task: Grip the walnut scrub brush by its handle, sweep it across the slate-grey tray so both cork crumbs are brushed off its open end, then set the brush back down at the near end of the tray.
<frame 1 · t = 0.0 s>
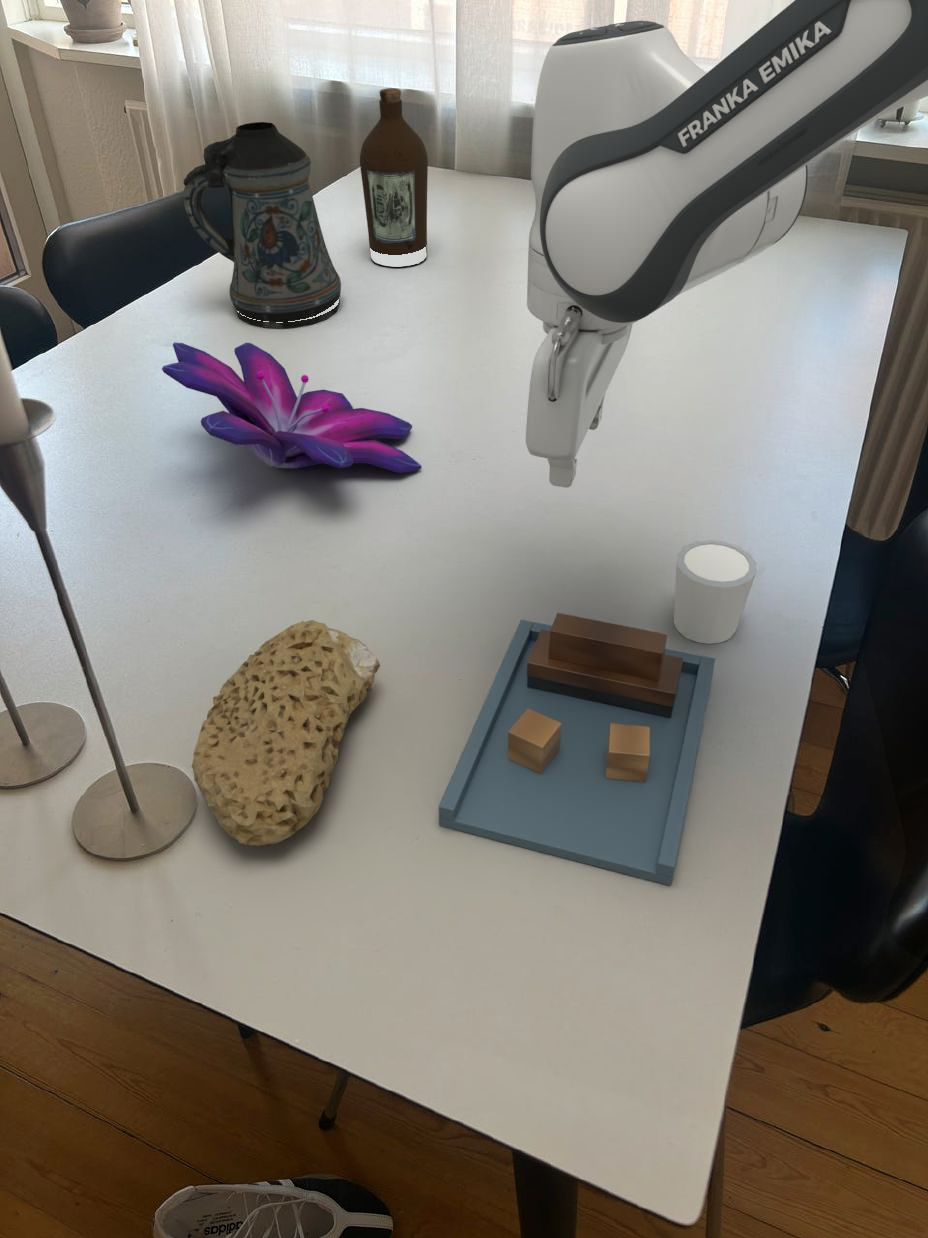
hand: (576, 452, 78), 17 cm above the table, tool pointing down, fingers open, 8 cm apart
olive oil: (398, 259, 161), on the table
beer stein: (280, 311, 145), on the table
crumb a: (627, 752, 73), point 2 cm above the table, touching tray
tray: (585, 745, 77), on the table
brush: (602, 686, 80), point 1 cm above the table, touching tray
crumb b: (534, 741, 74), point 2 cm above the table, touching tray
sponge: (290, 756, 76), on the table
white cup: (704, 625, 88), on the table
decorative flower: (303, 458, 112), on the table
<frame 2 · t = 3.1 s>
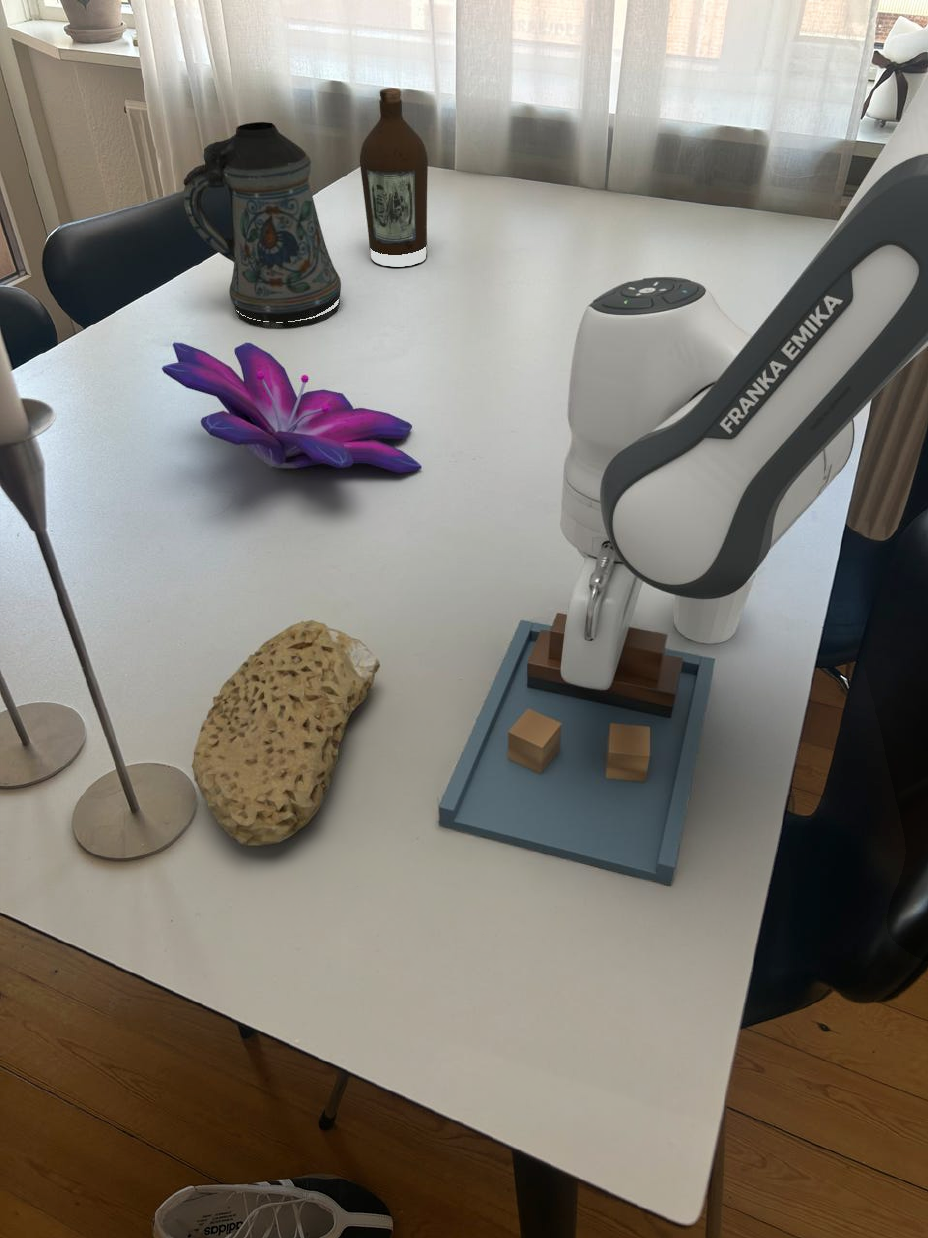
hand: (606, 651, 78), 5 cm above the table, tool pointing down, fingers closed on brush, 2 cm apart
brush: (602, 686, 80), point 1 cm above the table, touching gripper, tray
everything else where it was.
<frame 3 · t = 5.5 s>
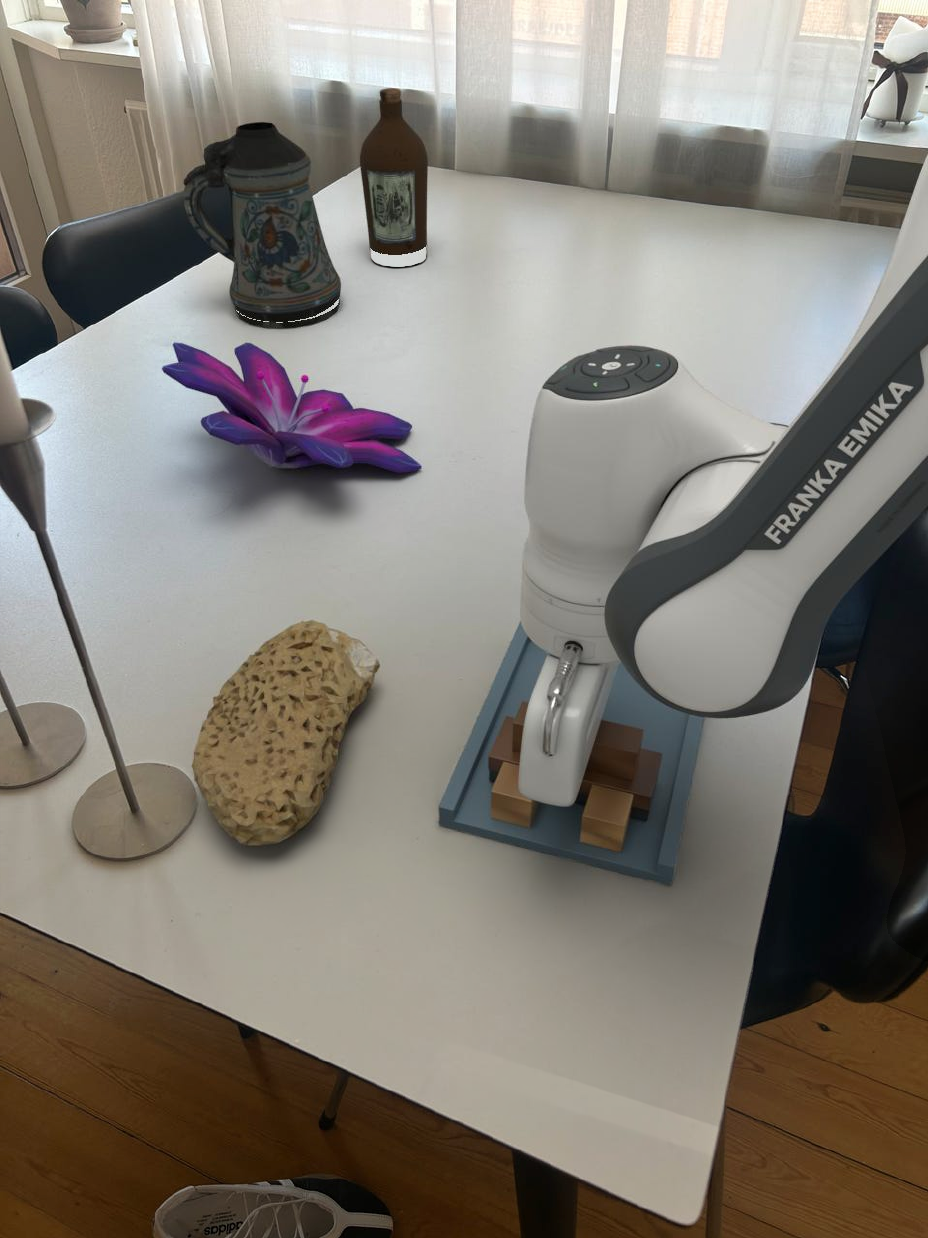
hand: (576, 747, 70), 5 cm above the table, tool pointing down, fingers closed on brush, 2 cm apart
crumb a: (606, 818, 68), point 3 cm above the table, touching tray
brush: (572, 781, 72), point 1 cm above the table, touching gripper
crumb b: (516, 794, 70), point 3 cm above the table, touching tray
everything else where it was.
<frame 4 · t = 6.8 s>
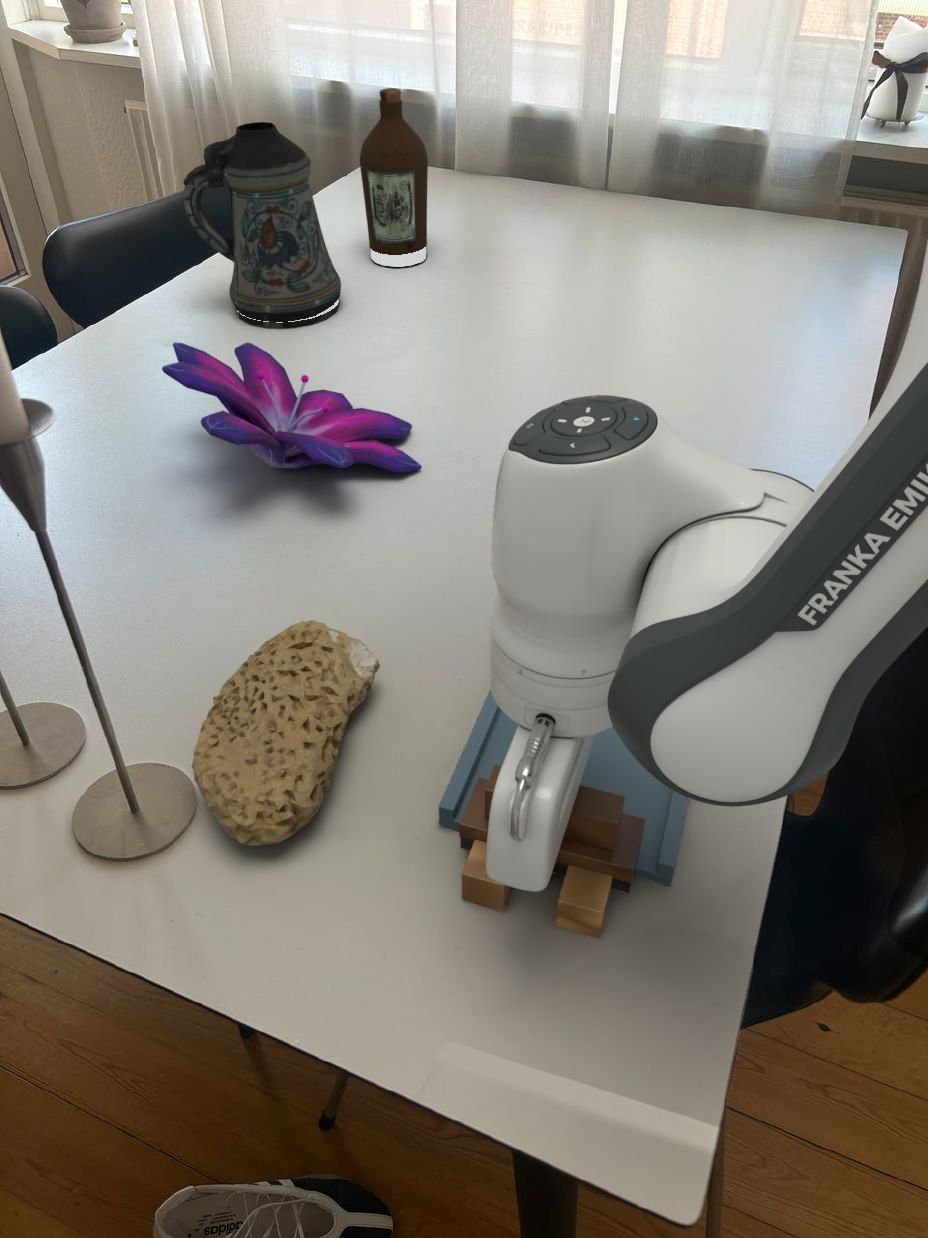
hand: (553, 814, 65), 5 cm above the table, tool pointing down, fingers closed on brush, 2 cm apart
crumb a: (584, 901, 64), point 1 cm above the table, touching brush
brush: (550, 848, 68), point 1 cm above the table, touching crumb a, gripper
crumb b: (489, 875, 66), point 2 cm above the table, tilted 90°
everything else where it was.
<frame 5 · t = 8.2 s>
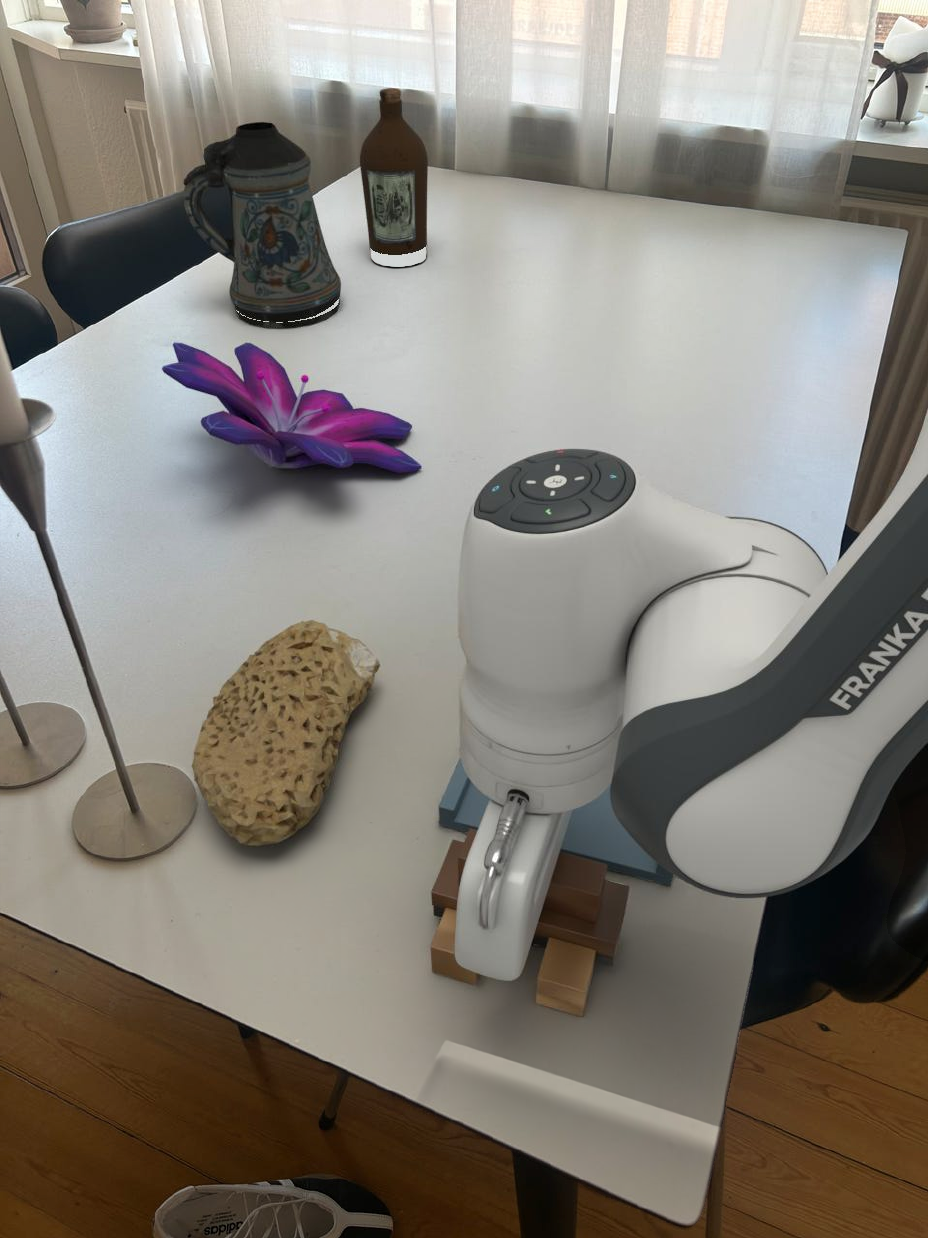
hand: (531, 881, 61), 5 cm above the table, tool pointing down, fingers closed on brush, 2 cm apart
crumb a: (565, 976, 60), point 1 cm above the table, touching brush
brush: (528, 915, 64), point 1 cm above the table, touching crumb a, crumb b, gripper
crumb b: (460, 946, 62), point 1 cm above the table, tilted 90°, touching brush
everything else where it was.
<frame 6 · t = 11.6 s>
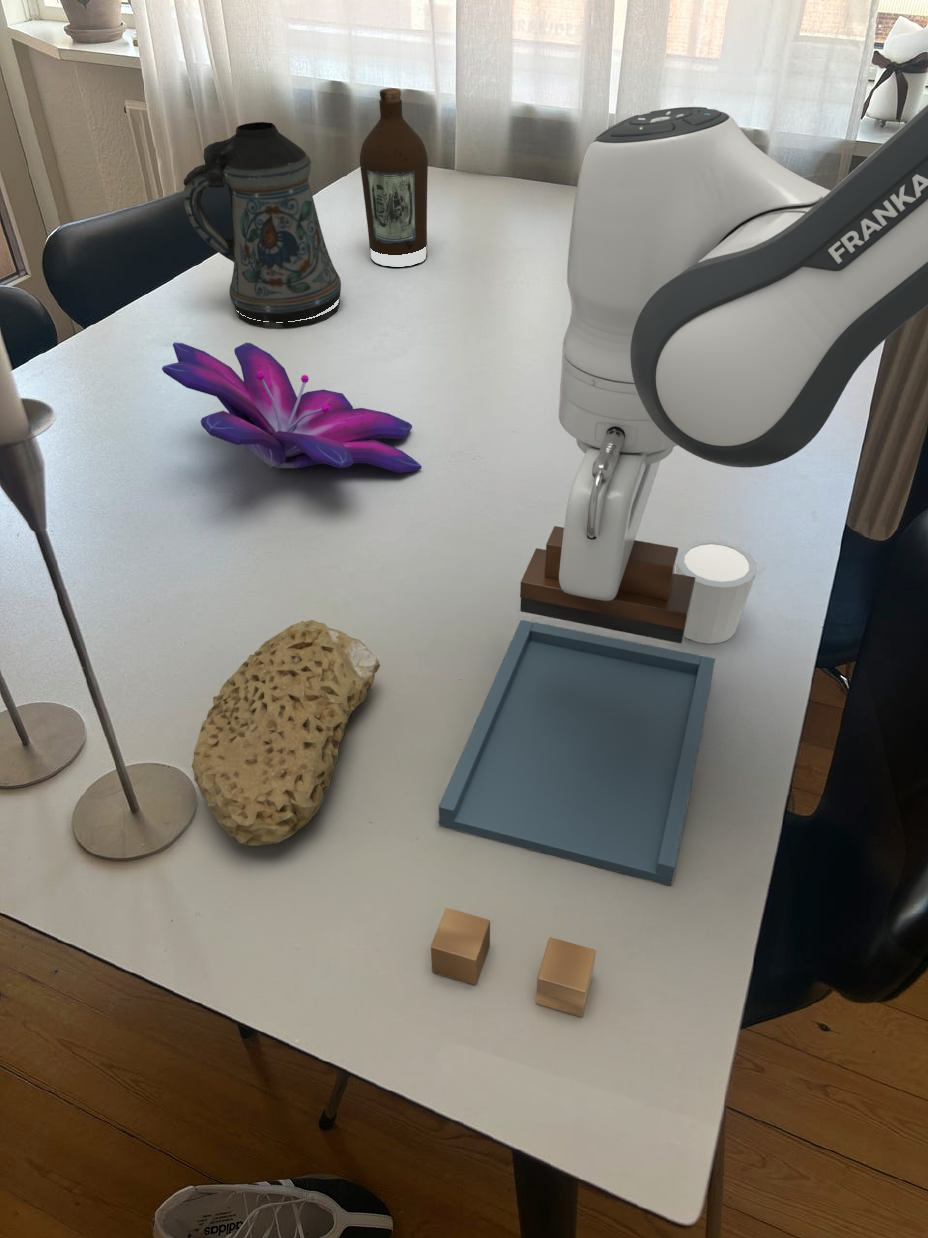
hand: (610, 570, 70), 15 cm above the table, tool pointing down, fingers closed on brush, 2 cm apart
crumb a: (565, 977, 60), point 1 cm above the table
brush: (604, 611, 72), point 11 cm above the table, touching gripper
crumb b: (461, 946, 62), point 1 cm above the table, tilted 90°
everything else where it was.
when the fingers open (5 cm above the table, at t = 14.1 s): brush stays where it is, resting on tray.
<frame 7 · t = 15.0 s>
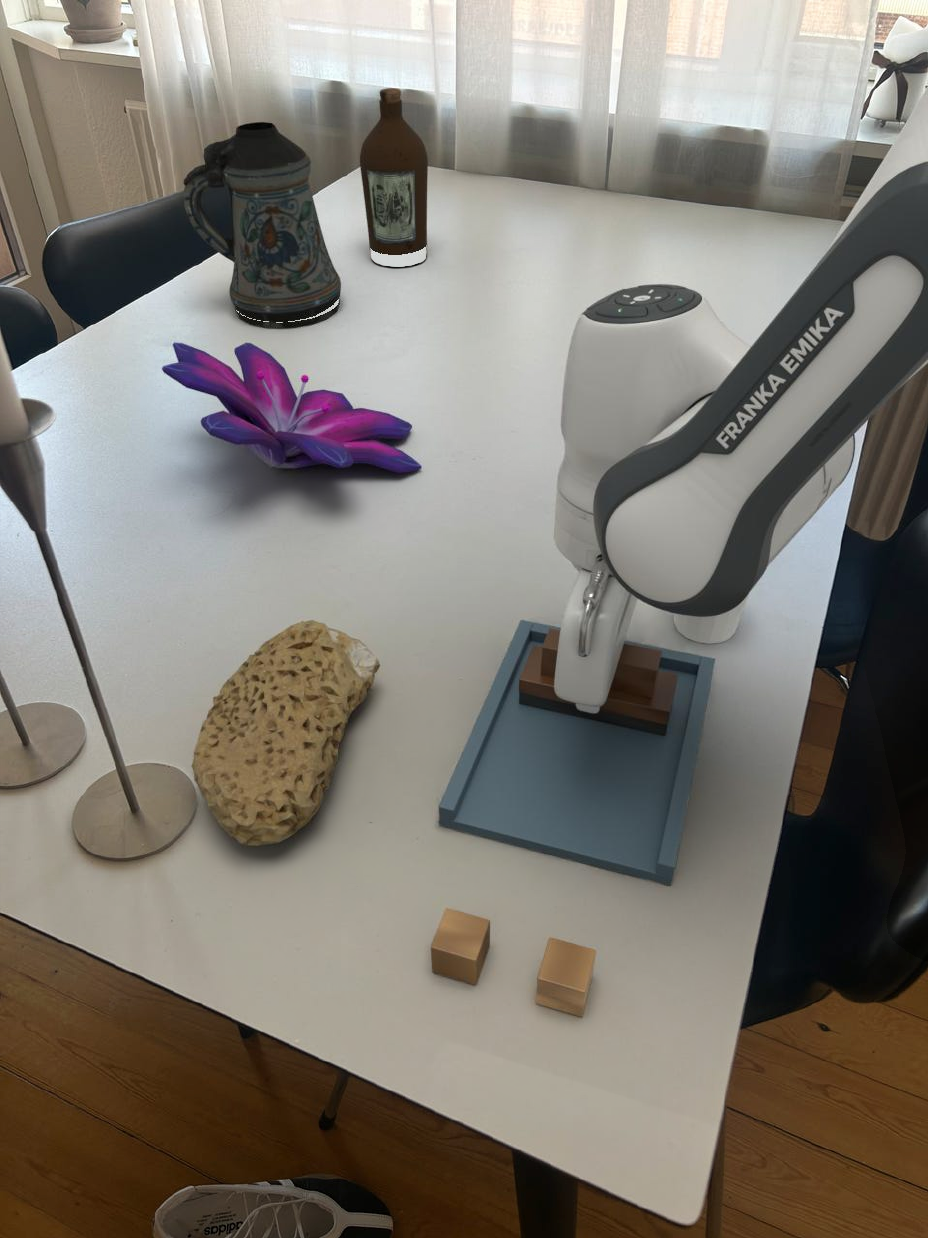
hand: (602, 665, 76), 5 cm above the table, tool pointing down, fingers open, 8 cm apart
brush: (595, 703, 79), point 1 cm above the table, touching tray
everything else where it was.
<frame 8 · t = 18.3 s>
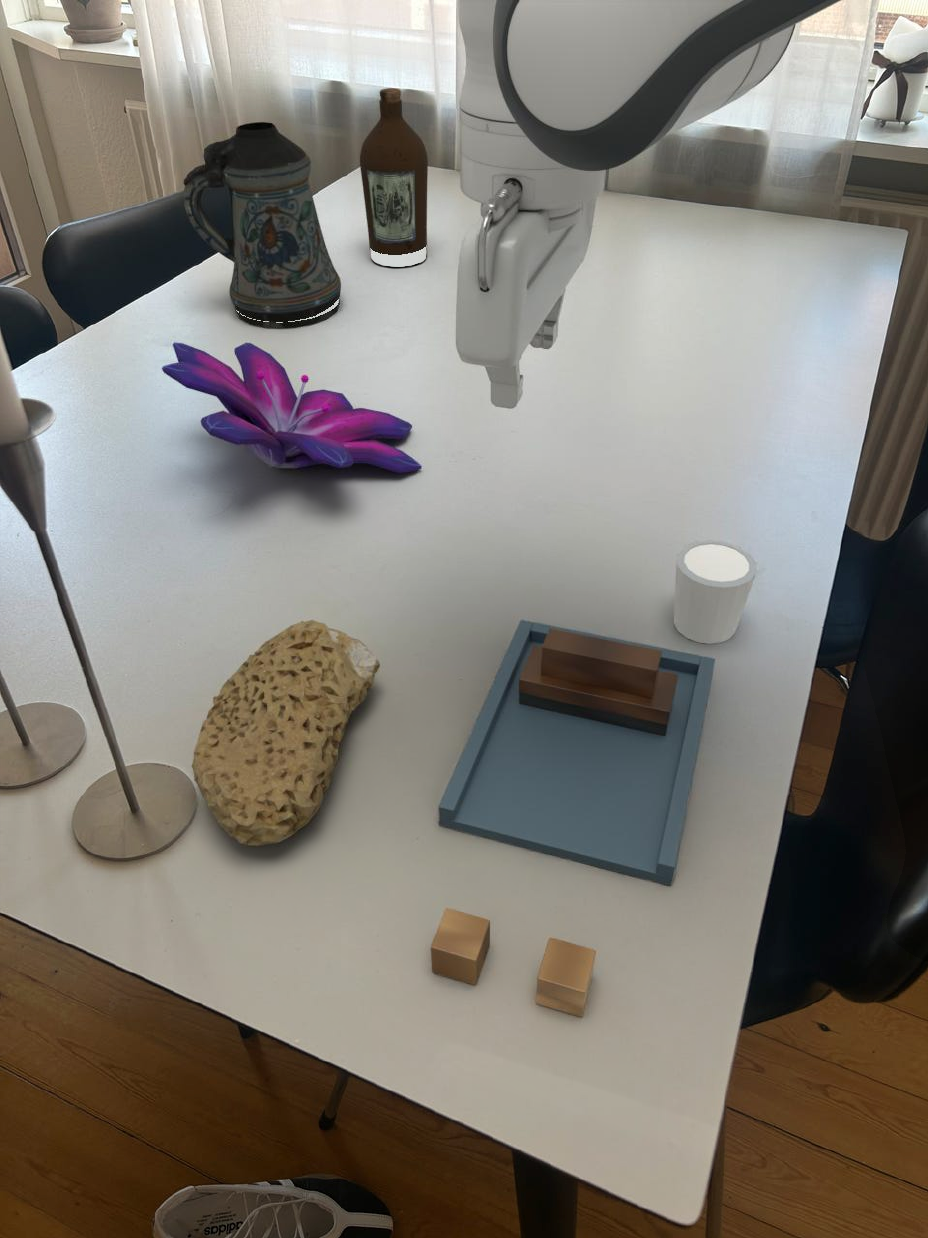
hand: (525, 372, 67), 27 cm above the table, tool pointing down, fingers open, 8 cm apart
nothing on the table moved.
at the end: crumb a inside the target area (3.4 cm from its centre), point 1.5 cm above the table; crumb b inside the target area (3.7 cm from its centre), point 1.5 cm above the table; brush inside the target area on the tray (0.4 cm from its centre), point 1.0 cm above the tray's base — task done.
